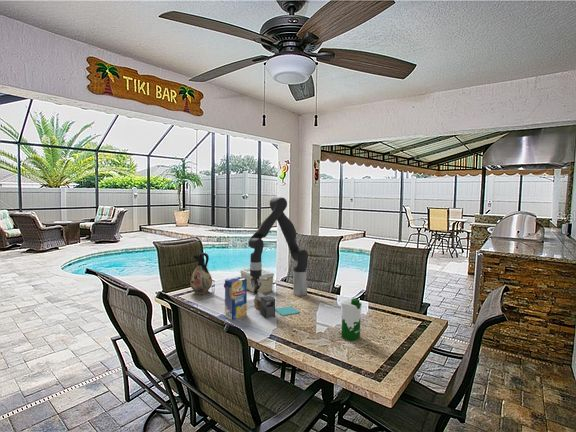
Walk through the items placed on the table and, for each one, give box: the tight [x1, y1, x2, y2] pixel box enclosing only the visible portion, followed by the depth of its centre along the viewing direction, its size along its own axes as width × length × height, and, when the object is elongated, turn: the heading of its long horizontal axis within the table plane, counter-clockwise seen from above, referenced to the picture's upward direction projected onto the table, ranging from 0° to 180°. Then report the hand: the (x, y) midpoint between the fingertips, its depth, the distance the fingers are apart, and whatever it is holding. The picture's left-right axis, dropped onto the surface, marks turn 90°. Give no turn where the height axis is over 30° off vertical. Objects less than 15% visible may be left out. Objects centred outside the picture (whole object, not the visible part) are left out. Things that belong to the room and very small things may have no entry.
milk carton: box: [340, 298, 363, 342], centre depth 167 cm, size 9×9×20 cm
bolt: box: [254, 293, 271, 305], centre depth 202 cm, size 4×16×2 cm, turn 27°
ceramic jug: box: [189, 252, 213, 295], centre depth 238 cm, size 17×15×30 cm
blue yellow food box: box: [224, 276, 248, 321], centre depth 194 cm, size 7×11×22 cm, turn 138°
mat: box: [275, 305, 301, 317], centre depth 204 cm, size 12×12×1 cm
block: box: [253, 297, 261, 310], centre depth 209 cm, size 4×4×6 cm
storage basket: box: [240, 267, 275, 294], centre depth 249 cm, size 24×16×15 cm
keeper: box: [260, 295, 276, 319], centre depth 196 cm, size 7×7×11 cm
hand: (255, 294), depth 213 cm, fingers closed
